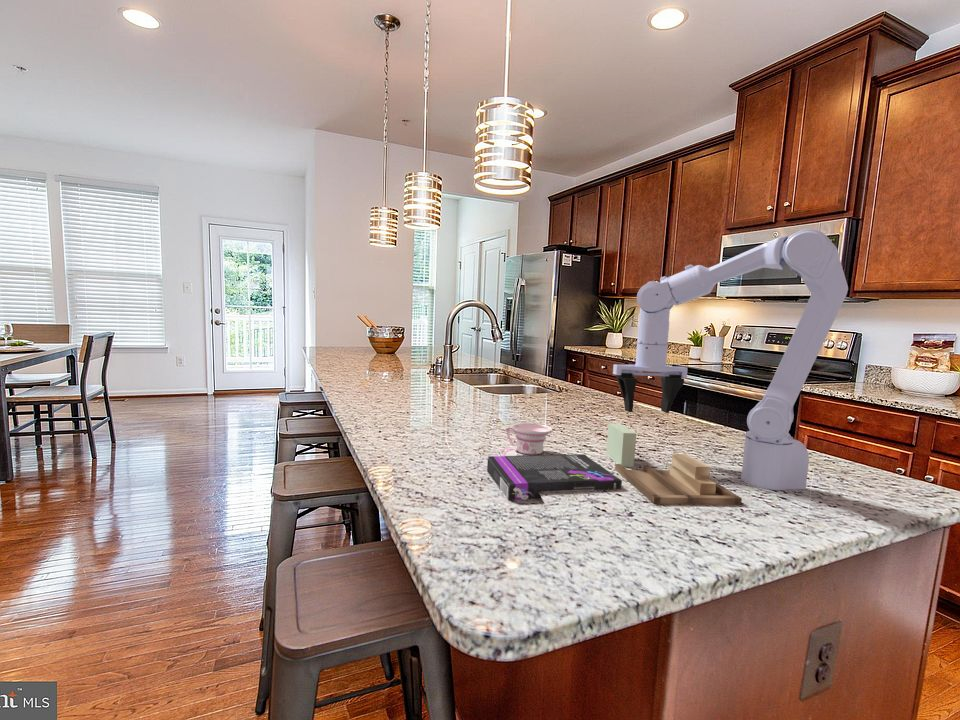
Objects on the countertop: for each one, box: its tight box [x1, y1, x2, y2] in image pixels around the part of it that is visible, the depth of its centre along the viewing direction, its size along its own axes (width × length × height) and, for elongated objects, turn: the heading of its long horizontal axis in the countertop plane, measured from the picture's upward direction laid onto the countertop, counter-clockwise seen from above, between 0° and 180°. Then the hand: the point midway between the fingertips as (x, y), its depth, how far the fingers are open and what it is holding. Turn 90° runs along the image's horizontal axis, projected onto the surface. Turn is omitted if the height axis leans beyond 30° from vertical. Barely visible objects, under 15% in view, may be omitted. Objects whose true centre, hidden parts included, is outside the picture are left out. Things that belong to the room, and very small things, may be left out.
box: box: [486, 453, 623, 501], centre depth 82 cm, size 14×4×20 cm
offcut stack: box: [669, 453, 717, 496], centre depth 81 cm, size 3×10×4 cm, turn 5°
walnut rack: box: [614, 463, 743, 506], centre depth 81 cm, size 14×16×2 cm
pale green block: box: [606, 422, 637, 468], centre depth 94 cm, size 2×8×7 cm, turn 5°
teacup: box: [499, 422, 553, 456], centre depth 97 cm, size 12×12×6 cm
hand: (646, 411), depth 96 cm, fingers open, 7 cm apart
